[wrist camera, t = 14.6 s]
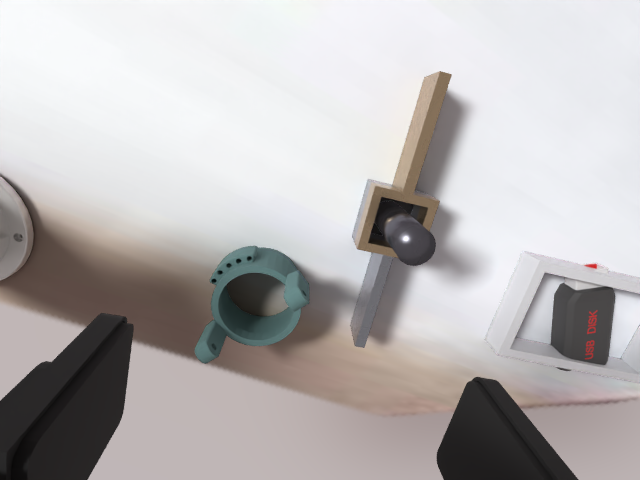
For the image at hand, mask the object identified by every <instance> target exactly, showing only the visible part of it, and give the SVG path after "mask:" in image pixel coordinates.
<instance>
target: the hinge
mask: <svg viewBox="0 0 640 480" xmlns="http://www.w3.org/2000/svg"><path fill="white" fill-rule="evenodd" d="M451 75H452V74H448V73H444V72H441V71H439V72H437V73H434V74H432V75H429V76H427V77H425V78H424V81H423V84H422V88H421V91H420V94H419V98H418V101H417V104H416V108H415V111H414V114H413V118H412V121H411V124H410V128H409V131H408V134H407V138H406V141H405V144H404V148H403V151H402V154H401V158H400V161H399V164H398V168H397V171H396V174H395V178H394V181H393V184H392V185H391V184H386V183H382V182H378V181H374V180H370V179H368V181H367V184H366V188H365V191H364V195H363V199H362V202H361V206H360V209H359V213H358V217H357V220H356V224H355V227H354V231H353V234H352V238H353V240H354V243H355V245H356V248H357V249H359V250H363V251H368V252H372V254H371V258H370V261H369V264H368V268H367V271H366V274H365V278H364V281H363V284H362V288H361V291H360V294H359V298H358V301H357V304H356V308H355V311H354V314H353V318H352V321H351V324H350V326H351V331H352V335H353V340H354V345H355V346H357V347H363V348H364V347H365V344H366V341H367V338H368V335H369V332H370V328H371V325H372V322H373V319H374V316H375V313H376V310H377V307H378V303H379V300H380V297H381V294H382V291H383V288H384V285H385V282H386V278H387V275H388V272H389V269H390V266H391V263H392V260H393V257H395V258H398V256H397V255H396V253H395V252H394V250H393V249H392V247H391V246H390V245H389V243H388V242H387V240H386V239H385V237H384V236H383V235H379V234H374V233H371V230H372V227H373V224H374V220H375V217H376V213H377V210H378V207H379V203H380V200H381V197H385V198H389V199H394V200H398V201H402V202H406V203H411V204H414V206H413V209H412V212H411V216H412V217H413V218H414V219H416V220H417V221H418V222H419V223H420V224H421V225H422V226H424V227H425V228H426V229H427V230H428V231H430V228H431V225H432V223H433V220H434V217H435V214H436V211H437V208H438V205H439V202H440V201H439V200H437V199H435V198H434V197H432V196H430V195H428V194H427V193H424V192H420V191H416V190H415V188H416V185H417V181H418V178H419V175H420V172H421V169H422V166H423V163H424V160H425V156H426V153H427V150H428V147H429V144H430V141H431V138H432V135H433V131H434V128H435V125H436V122H437V119H438V116H439V113H440V109H441V106H442V103H443V100H444V97H445V94H446V91H447V88H448V84H449V81H450V78H451Z"/></svg>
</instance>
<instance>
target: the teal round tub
mask: <svg viewBox="0 0 640 480" xmlns="http://www.w3.org/2000/svg"><path fill="white" fill-rule="evenodd" d="M246 273H263V274H267V275H270V276H272V277H275V278H276V279H278V280H279V281H281V282H282V283H283V284H284V285H285V292H284V299H285V301H286V303H287V305H288V306H289V307H288V308H287V309H286V310H284V311H283V312H281V313H279V314H276V315H272V316H255V315H251V314H248V313H246V312H244V311H243V310H241V309H240V308H239V307H237V306H236V305H235V304H234V302H233V301H232V299H231V298H230V296H229V294H228V291H227V286H226V285H227V283H228V282H230V281H231V280H232V279H234V278H236V277H238V276H240V275H243V274H246ZM210 283H212V284H215V285H217V286H216V288H215V290H214V292H213V295H212V300H211V310H212V314H213V317H214V320H213V321H211V322H210V323H209V324H208V325H206V327H205V329H204V331H203V333H202V335H201V337H200V339H199V341H198V343H197V345H196V347H195V354H196V356H197V358H198V359H199V360H200V361H201V362H202V363H205V364H206V363H208V362H210V361H212V360H213V359H215V358H217V357H218V356H219V354H220V351H221V349H222V346H223V343H224V341H225V338H226V335H227V336H228V337H230V338H231V339H233V340H235V341H237V342H239V343H242V344H245V345H251V346H265V345H270V344H273V343H276V342H278V341H280V340H282V339H283V338H285V337H286V336H288V335H289V334H290V333H291V332H292V331H293V329H294V328H295V327H296V325H297V323H298V321H299V317H300V314H301V308H302V307H304V306H306V305H307V304H309V284H308V282H307V281H306V279H305V278H304V276H303V275H302V274H301V272H300V271H298V270H297V268H296V267H295V265H294V264H293V262H292V261H291V260H290V258H289V257H287V256H286V255H285V254H283V253H281V252H279V251H277V250H274V249H270V248H258V247H257V246H248V247H243V248H240V249H238V250H235V251H233V252H232V253H230V254H229V255H227V256H226V257H225V258H224V259H223V260H222V261H221V263H220V264H219V265H218V267H217V269H216V270H215V272H214V273H213V275H212V277H211V279H210Z"/></svg>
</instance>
